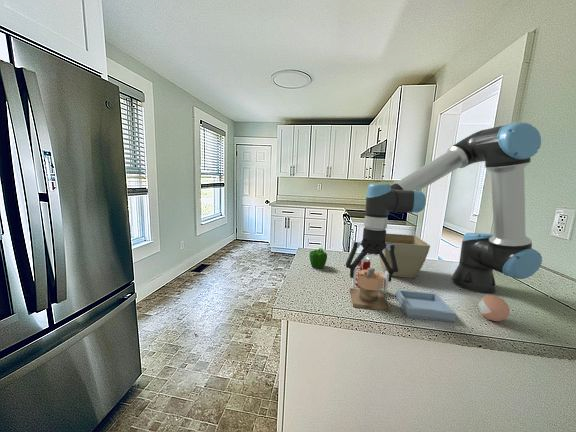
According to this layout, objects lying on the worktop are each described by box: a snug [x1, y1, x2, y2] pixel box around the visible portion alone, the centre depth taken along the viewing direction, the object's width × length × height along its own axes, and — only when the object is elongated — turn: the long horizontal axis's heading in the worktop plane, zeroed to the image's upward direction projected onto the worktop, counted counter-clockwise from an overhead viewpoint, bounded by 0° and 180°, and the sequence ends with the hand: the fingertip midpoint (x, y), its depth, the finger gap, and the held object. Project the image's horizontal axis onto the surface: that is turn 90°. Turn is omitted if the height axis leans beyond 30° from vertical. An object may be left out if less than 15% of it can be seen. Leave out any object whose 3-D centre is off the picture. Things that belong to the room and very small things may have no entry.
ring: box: [357, 270, 384, 291], centre depth 88 cm, size 8×8×4 cm
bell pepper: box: [309, 247, 328, 269], centre depth 120 cm, size 8×8×10 cm
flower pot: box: [378, 232, 431, 279], centre depth 116 cm, size 19×19×17 cm
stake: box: [349, 267, 390, 312], centre depth 88 cm, size 12×12×12 cm
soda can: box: [355, 256, 371, 289], centre depth 100 cm, size 5×5×12 cm
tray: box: [395, 288, 456, 323], centre depth 85 cm, size 14×14×3 cm
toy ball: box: [478, 294, 510, 322], centre depth 79 cm, size 8×8×8 cm
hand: (369, 287), depth 88 cm, fingers open, 10 cm apart
